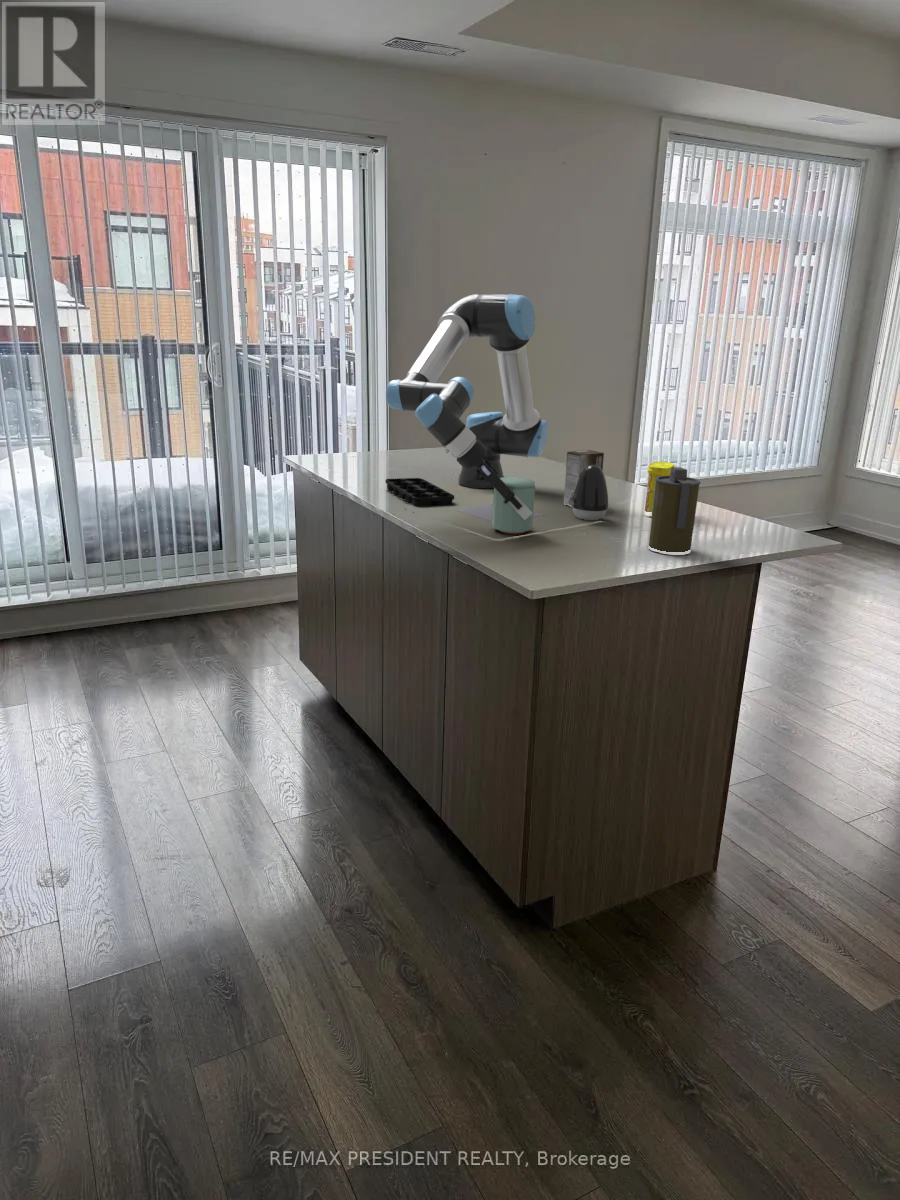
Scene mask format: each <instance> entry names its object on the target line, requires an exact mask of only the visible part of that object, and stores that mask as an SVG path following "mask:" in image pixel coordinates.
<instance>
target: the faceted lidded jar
mask: <svg viewBox="0 0 900 1200" xmlns="http://www.w3.org/2000/svg"><path fill="white" fill-rule="evenodd" d="M500 479H501V480H502V481H503V482H504V483H505V484H506V485H507V487H508V488H509V489H510V490H511V491H512V492H514V494H516V496H517V497H518V498H519V499H520V500H521V501H522V502H523V503H524V504H525V505H526V506H527V507H528V508H529V510H530V511H531V512H532V514H531V515H530V516H529V517H528V518H527V519H526V520H524V519H523V518H522V517H521V516H520V515H519V514H518V513H517V512H516V511H515V510H514V509H513V507H512V506H511V505H510V504H509V503H508V502H507V503H506V504H505V503H504V501H505V499H504V498H503V496H502V495H501V494H500V493H499V492H498V491H497V490H496V489H495V488H493V518H492V521H491V522H492V523H491V527H492V528H493V529H495V530H497V531H499V532H501V531H506V532H524V533H525V532H529V531H532V529H533V525H534V517H533V512H535V509H534V508H535V495H536V494H535V493H536V485H535V484H536V483H535V480H533V479H530V478H525V477H517V476H513V477H511V476H510V477H509V476H507V477H505V476H504V478H500ZM508 494H509V493H508ZM508 494H507V495H508ZM507 495H506V496H507Z"/></svg>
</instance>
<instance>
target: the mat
mask: <svg viewBox="0 0 900 1200" xmlns="http://www.w3.org/2000/svg"><path fill="white" fill-rule="evenodd" d="M455 511H456V512H459V513H463V514H467V515H470V516H473V517H476V518H480V519H482V520H485V521H489V522H492V518H493V504H492V503H491V504H487V505H485V504H484V505H479V506H471V507H466V508H458V509H455ZM543 516H545V514H543V513H540V512H536V511H533V518H537V517H543Z"/></svg>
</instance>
